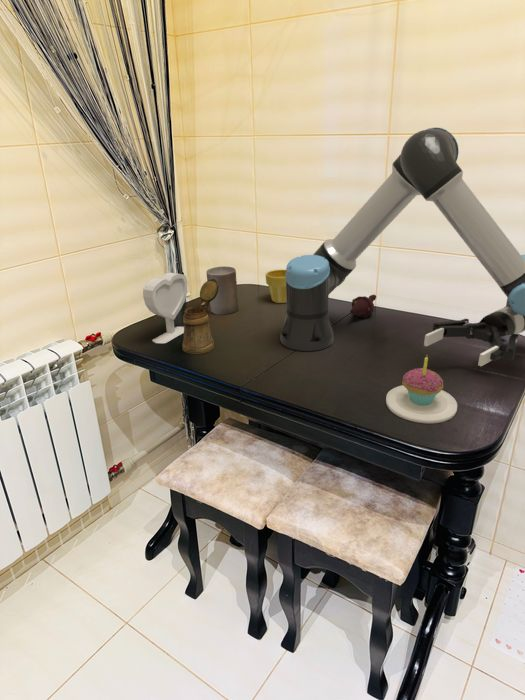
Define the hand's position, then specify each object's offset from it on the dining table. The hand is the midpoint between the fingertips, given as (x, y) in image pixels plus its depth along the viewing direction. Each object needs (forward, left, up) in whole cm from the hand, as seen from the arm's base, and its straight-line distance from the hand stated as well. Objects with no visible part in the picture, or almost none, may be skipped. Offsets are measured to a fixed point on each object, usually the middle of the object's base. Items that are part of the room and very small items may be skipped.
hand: (451, 350), depth 113 cm
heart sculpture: (-79, +3, -11) cm, 80 cm away
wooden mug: (-66, 0, -11) cm, 67 cm away
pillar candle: (-75, +27, -11) cm, 81 cm away
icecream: (-31, +38, -11) cm, 50 cm away
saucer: (-4, -9, -10) cm, 14 cm away
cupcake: (-4, -9, -9) cm, 14 cm away
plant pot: (-61, +43, -11) cm, 76 cm away
